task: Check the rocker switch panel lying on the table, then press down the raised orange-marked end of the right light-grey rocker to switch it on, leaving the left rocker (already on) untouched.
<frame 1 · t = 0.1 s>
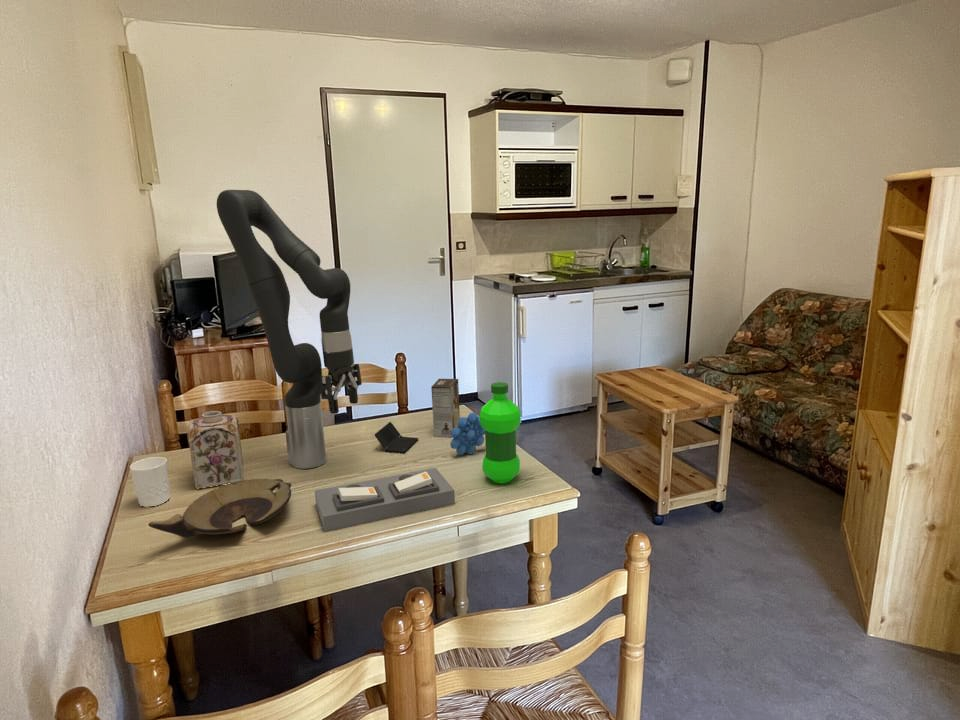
hand: (344, 408, 159), 17 cm above the table, tool pointing down, fingers open, 8 cm apart
rocker switch panel: (384, 503, 143), on the table
left rocker: (357, 493, 137), point 5 cm above the table, hinge at 10.0°
coffee box: (447, 432, 189), on the table
right rocker: (413, 482, 142), point 5 cm above the table, hinge at -10.0°
grapes: (468, 453, 172), on the table
white cup: (155, 502, 148), on the table
plastic bottle: (501, 479, 155), on the table
handheld gaming console: (397, 447, 179), on the table
decorative jar: (221, 478, 160), on the table
oil lamp: (228, 524, 136), on the table
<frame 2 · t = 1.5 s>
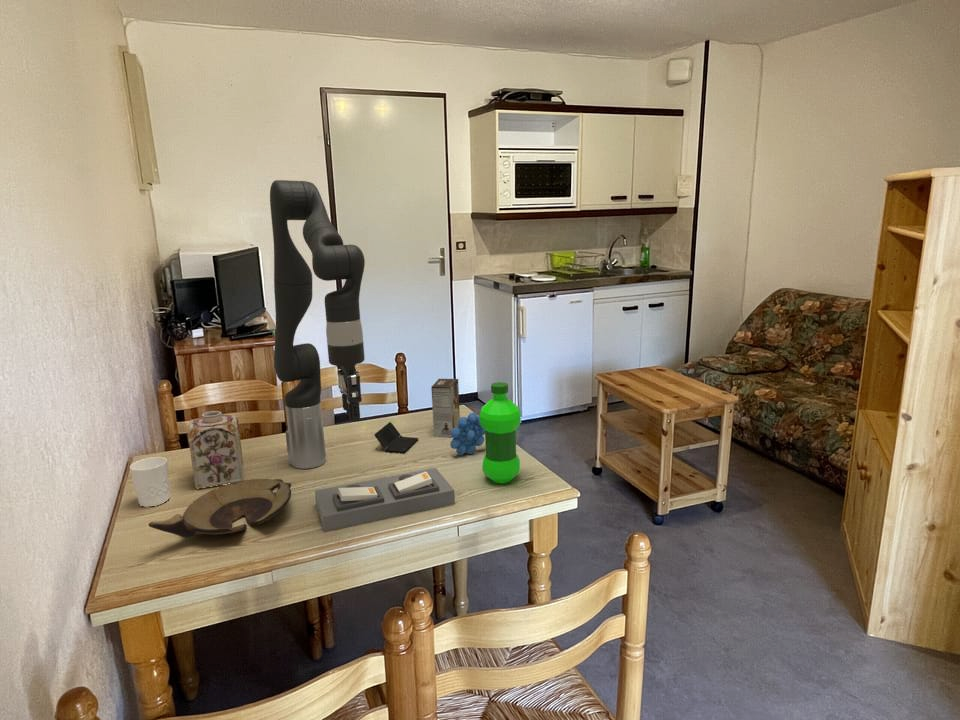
hand: (351, 414, 133), 24 cm above the table, tool pointing down, fingers open, 7 cm apart
nothing on the table moved.
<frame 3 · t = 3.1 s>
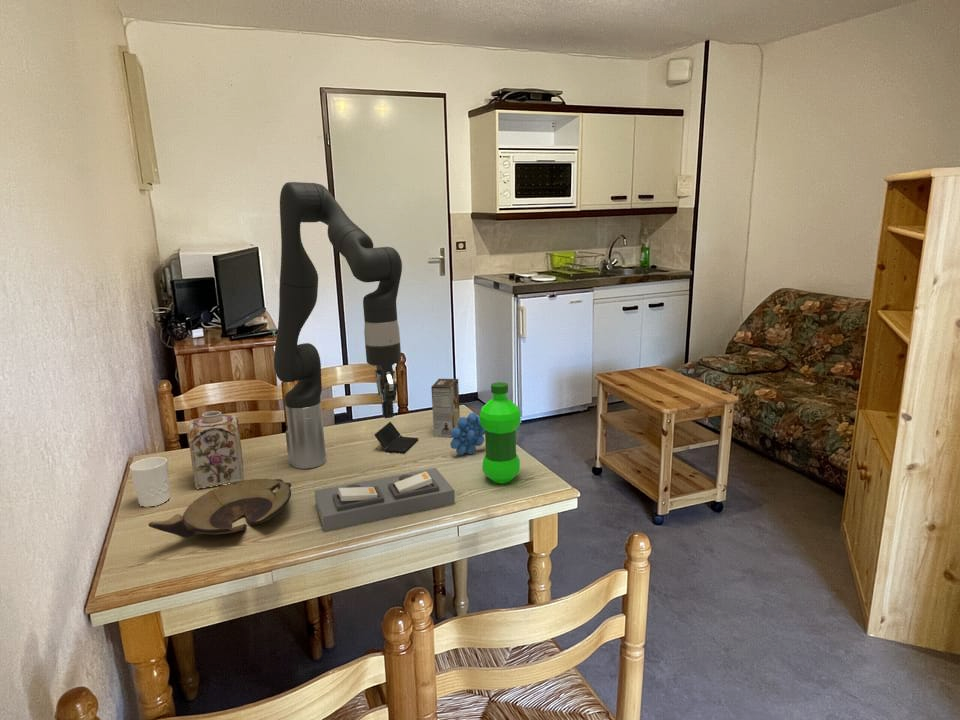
hand: (388, 416, 136), 22 cm above the table, tool pointing down, fingers closed
nothing on the table moved.
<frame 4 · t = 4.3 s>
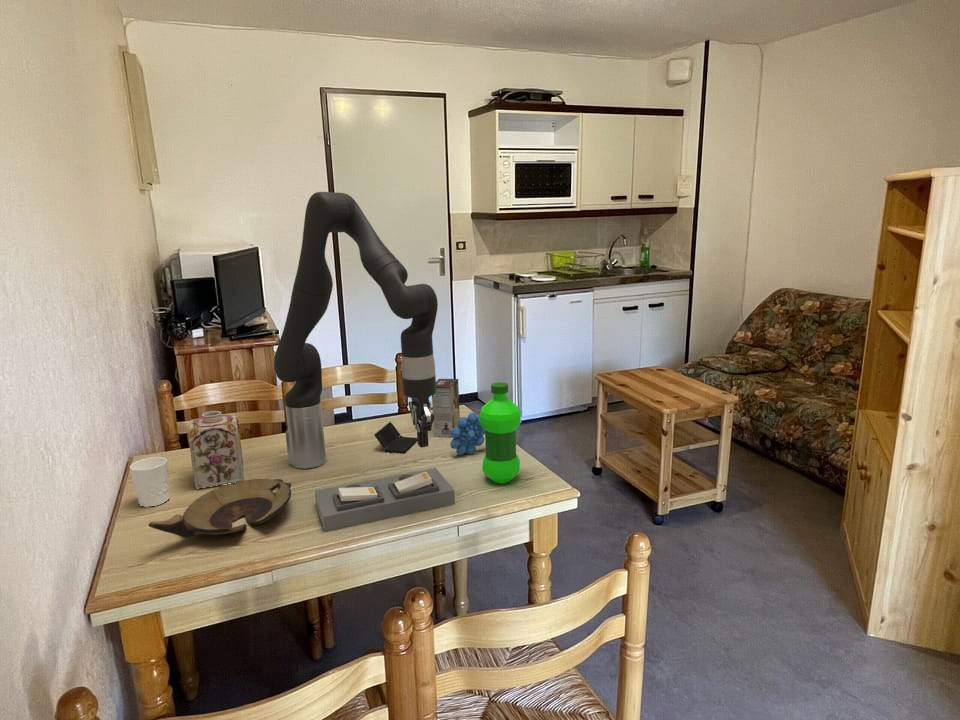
hand: (423, 445, 141), 14 cm above the table, tool pointing down, fingers closed
nothing on the table moved.
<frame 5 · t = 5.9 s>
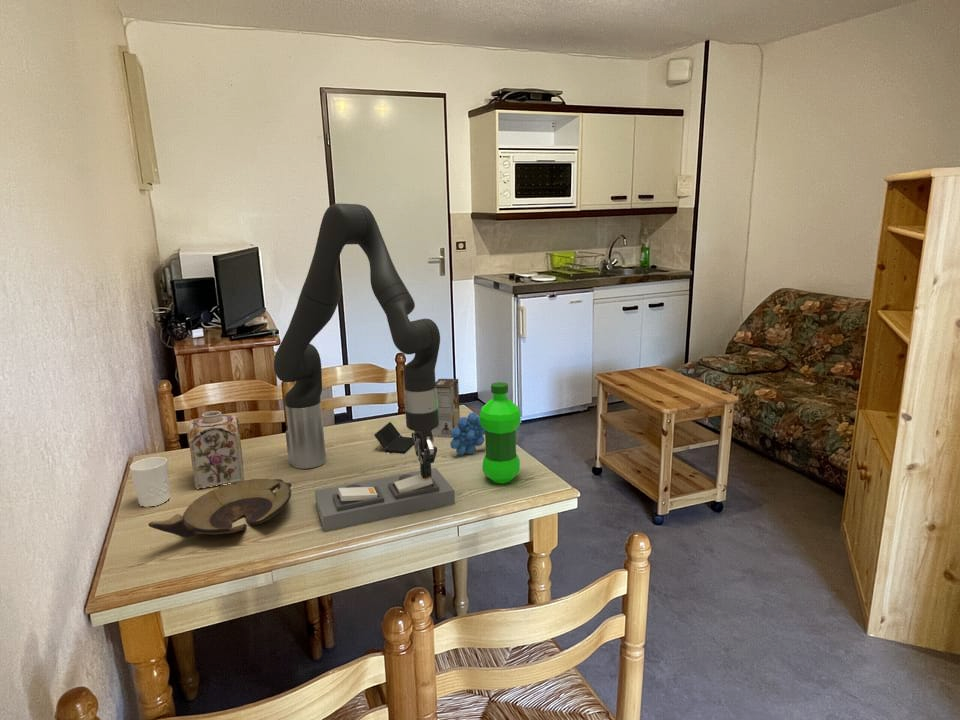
hand: (426, 476, 143), 6 cm above the table, tool pointing down, fingers closed
right rocker: (413, 482, 142), point 5 cm above the table, hinge at -7.5°, touching gripper
everything else where it was.
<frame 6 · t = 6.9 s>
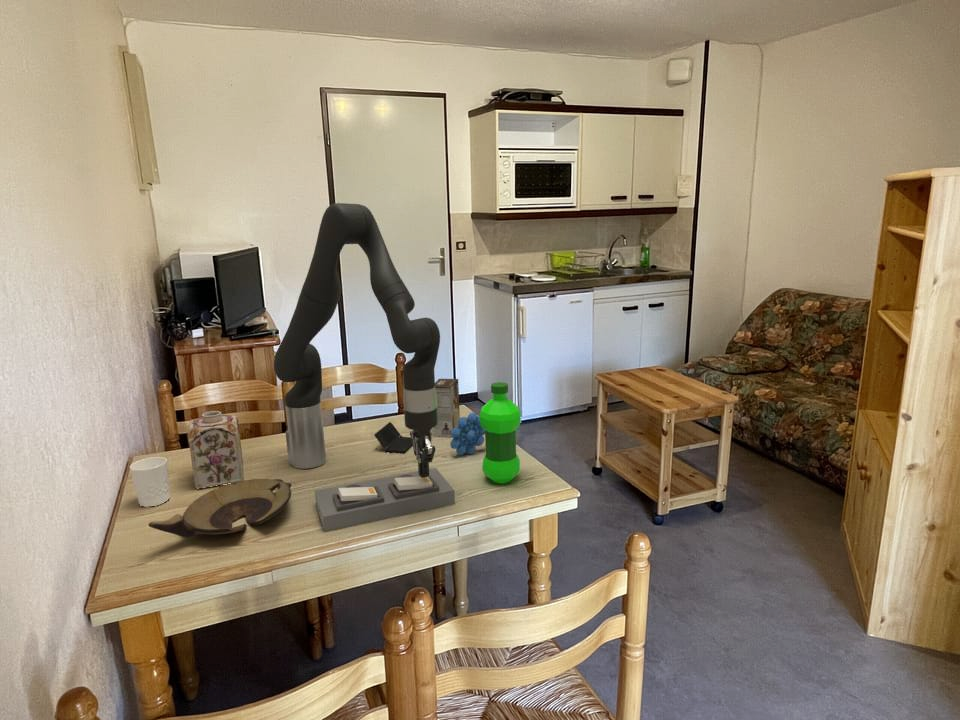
hand: (423, 475, 143), 6 cm above the table, tool pointing down, fingers closed
right rocker: (413, 482, 142), point 5 cm above the table, hinge at 7.9°
everything else where it was.
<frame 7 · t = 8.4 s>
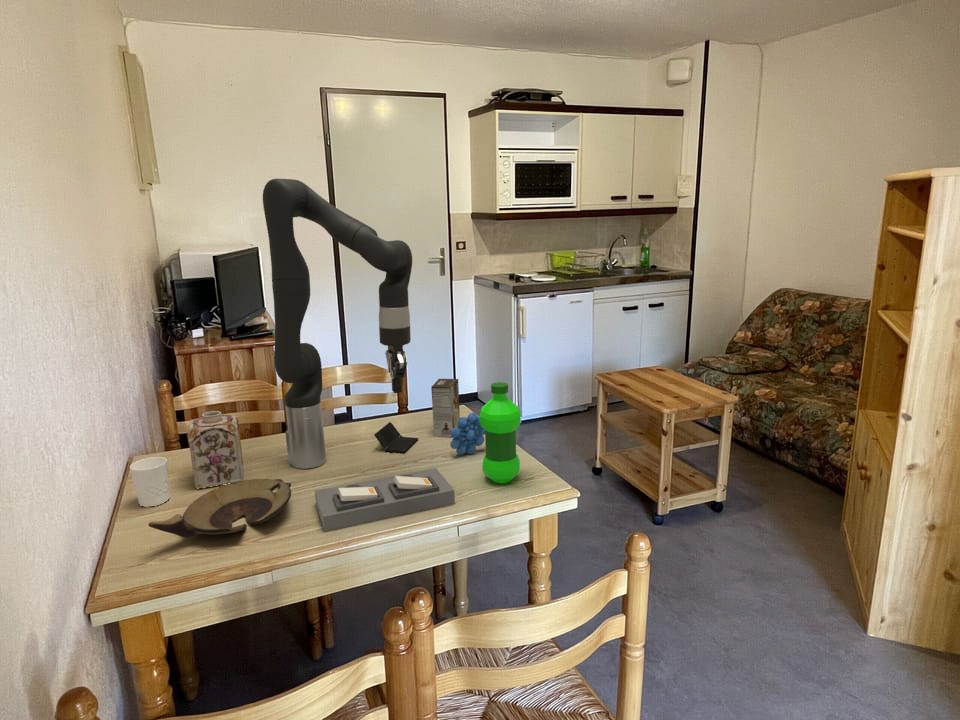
hand: (396, 391, 152), 23 cm above the table, tool pointing down, fingers closed
right rocker: (413, 482, 142), point 5 cm above the table, hinge at 15.3°, touching rocker switch panel
everything else where it was.
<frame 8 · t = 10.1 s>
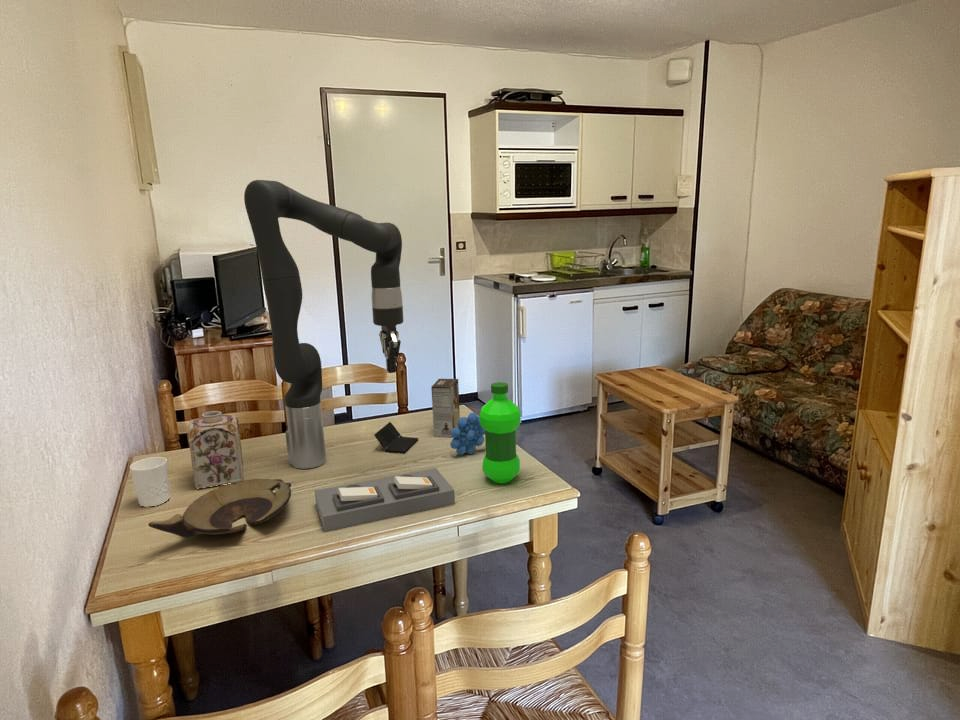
hand: (391, 372, 155), 27 cm above the table, tool pointing down, fingers closed
right rocker: (413, 482, 142), point 5 cm above the table, hinge at 13.4°
everything else where it was.
at the end: right rocker at +13° (first picture: -10°); left rocker at +10° (first picture: +10°) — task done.
